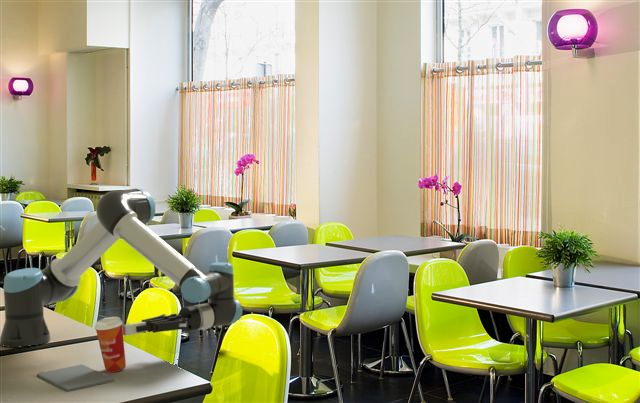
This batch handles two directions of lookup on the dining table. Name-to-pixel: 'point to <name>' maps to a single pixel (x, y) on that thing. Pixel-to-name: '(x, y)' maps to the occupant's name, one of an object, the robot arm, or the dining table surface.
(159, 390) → the dining table surface
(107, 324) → the paper cup
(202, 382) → the dining table surface
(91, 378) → the mat
